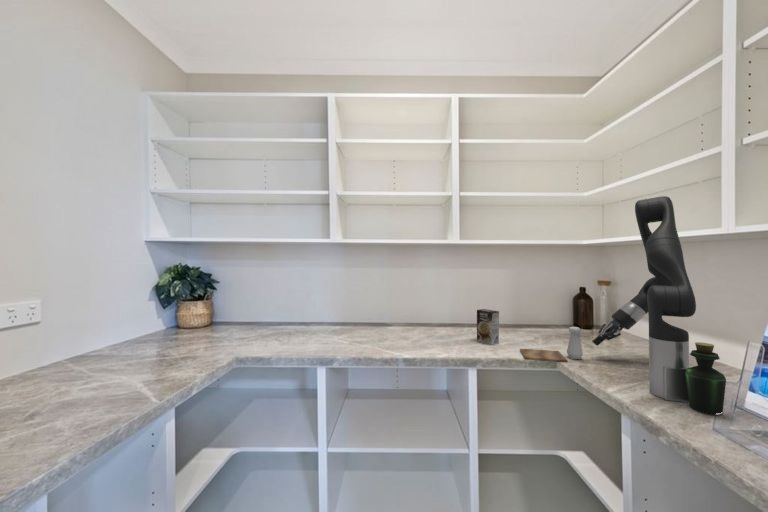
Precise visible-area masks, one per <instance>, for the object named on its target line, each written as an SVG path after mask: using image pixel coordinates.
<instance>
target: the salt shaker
mask: <svg viewBox="0 0 768 512" xmlns="http://www.w3.org/2000/svg"><path fill="white" fill-rule="evenodd" d="M581 331H582V330H581V328H580V327H578V326H570V327H569V328H568V333H570V334H569V340H568V344H567V349H566V353H567V355H568V357H569V359H571V358H572V360H576V359H579V360H581V359H582V357H583V355H584V353H583V348H582V342H581V337H580V334H581Z"/></svg>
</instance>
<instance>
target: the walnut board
mask: <svg viewBox="0 0 768 512" xmlns="http://www.w3.org/2000/svg"><path fill="white" fill-rule="evenodd" d="M519 351H520V353H521V355H522V354H523V355H522V356H524V357H523V359H524V360H530V361H533V360H534V361H543V362H544V361H546V362H557V363H558V362H560V363H569V361H568V359H567V358H566V357H565V356H564V355H563V354H562V353H561V352H560V351H559V350H548V349H531V348H519Z"/></svg>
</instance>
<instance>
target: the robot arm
mask: <svg viewBox="0 0 768 512" xmlns="http://www.w3.org/2000/svg"><path fill="white" fill-rule="evenodd" d="M634 213H635V218H636V223H637V226H638V229H639V234H640V237H641V241H642V244H643V246H644V251H645V257H646V263H647V270H648V272H649V273H650V274H652V275H653V277H651V278H649V279H647V280H646V281H645V283H644V284H643V286H642V287H641V288H640V290H639V291H638V293H637V295H635V296H634V297H633V298H631V300H629V301H627V302H626V303H625V304H623V305H622V306H621V307H620V308H618V310H616V311H615V312H614V313H613V314H611V319H612V320H611V321H608V323H603V324H602V325H601V327H600V328H599V330H598V332H597V334H598V335H597V336H596V337H595V338H593V339H592V344H594V345H595V346H597V347H598V346H599V345H601V343H603V342H604V341H610V340H613V339H614V338H617V337H620V336H621V335H622V333H621V332H622V330H623V329H624V330H630V329H631V328H632V327H634V326H635V325H636V324H637V323H638V322H639V321H641V320H642V319H643V318H644V316H646V315H647V314H648V366H649V367H648V376H649V377H648V383H649V393H650V394H651V395H654V396H656V397H659V398H662V399H663V400H666V401H671V402H673V401H675V402H684V403H689V399H688V391H687V383H686V376H685V371H686V370H687V368H690V334H689V332H688V331H687V330H685V329H684V328H680V327H678V326H675V325H672V324H670V323H668V322H667V321H665V320H663V317H676V318H678V317H679V318H689V317H693V316H695V313H696V311H697V304H696V303H697V302H696V297H695V293H694V290H693V287H692V285H691V282H690V279H689V276H688V272H687V270H686V265H685V260H684V259H685V258H684V253H683V249H682V244H681V240H680V238H679V234H678V233H679V232H678V231H677V230H678V229H677V225H676V219H675V217H676V215H675V210H674V204H673V201H672V199H671V198H670V197H669V196H663V195H662V196H657V197H651V198H645V199H640V200H637V201H635V205H634ZM658 222H660V224H659V225H658V227H657V228H656V229H655V230H654V231H653V232H652V231H651V229H650V227H649V224H652V223H658Z"/></svg>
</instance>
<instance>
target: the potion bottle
mask: <svg viewBox="0 0 768 512" xmlns="http://www.w3.org/2000/svg"><path fill="white" fill-rule="evenodd" d="M694 344H695V348H696V349H694V350H691V352H689V356H692V357H693V358H694V359H695V361H696V364H697V365H695V366H694V365H693V366H692V367H691V366H690V367H689V368H687V370H686V371H685V376H686V383H687V391H688V399H689V402H688V406H689V407H690V408H691V409H692V410H694V411H696V412H698V413H701V414H705V415H710V416H716V415H715V414H716V413H721V412H723V413H724V404H725V393H726V385H727V378H726V376H725V375H724V373H722V372H720V371H719V370H716V368H713V366H714V362H715V361H716V360H717V361H718V360H721V359H720V356H719V354H718V352H717V353H716V352H713V351H714V348H715V344H712V343H708V342H696V341H695V342H694Z"/></svg>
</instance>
